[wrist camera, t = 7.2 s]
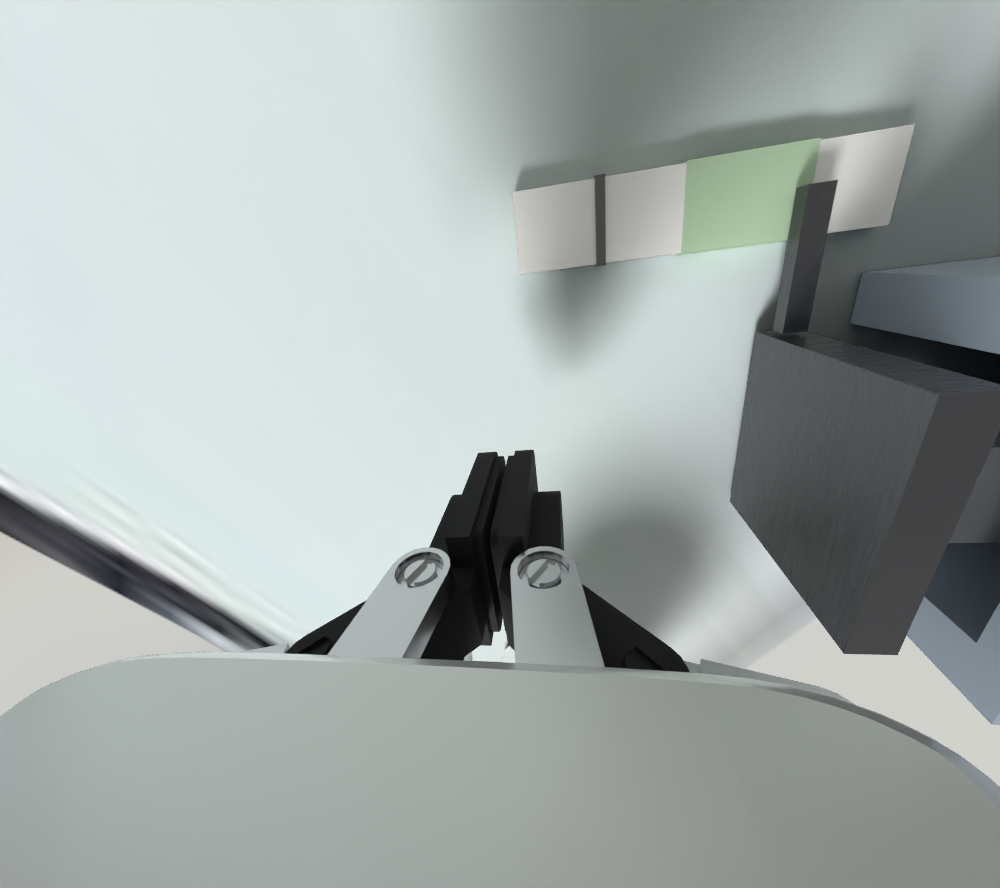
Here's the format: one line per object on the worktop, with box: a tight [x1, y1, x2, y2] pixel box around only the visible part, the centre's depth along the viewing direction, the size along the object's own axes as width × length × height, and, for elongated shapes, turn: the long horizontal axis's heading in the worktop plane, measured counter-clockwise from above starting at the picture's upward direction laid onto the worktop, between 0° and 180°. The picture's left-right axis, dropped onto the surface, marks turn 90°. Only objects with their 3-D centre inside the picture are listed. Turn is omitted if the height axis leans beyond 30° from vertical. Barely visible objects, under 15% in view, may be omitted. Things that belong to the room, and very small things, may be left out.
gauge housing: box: [512, 124, 1000, 725], centre depth 10 cm, size 21×14×8 cm, turn 97°
